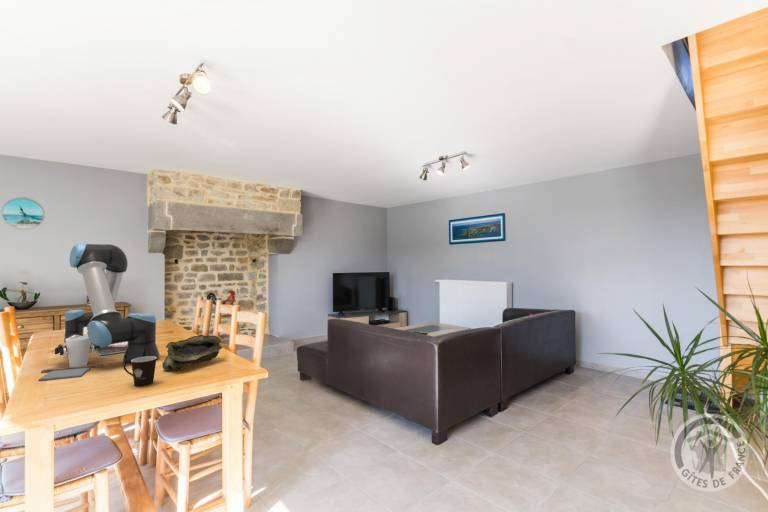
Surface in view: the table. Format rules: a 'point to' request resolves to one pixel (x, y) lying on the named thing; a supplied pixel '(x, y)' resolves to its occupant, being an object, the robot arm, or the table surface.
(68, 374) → the mat
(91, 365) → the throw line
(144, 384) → the coffee mug
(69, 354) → the foam cup
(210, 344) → the hollow geode rock
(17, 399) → the table surface
